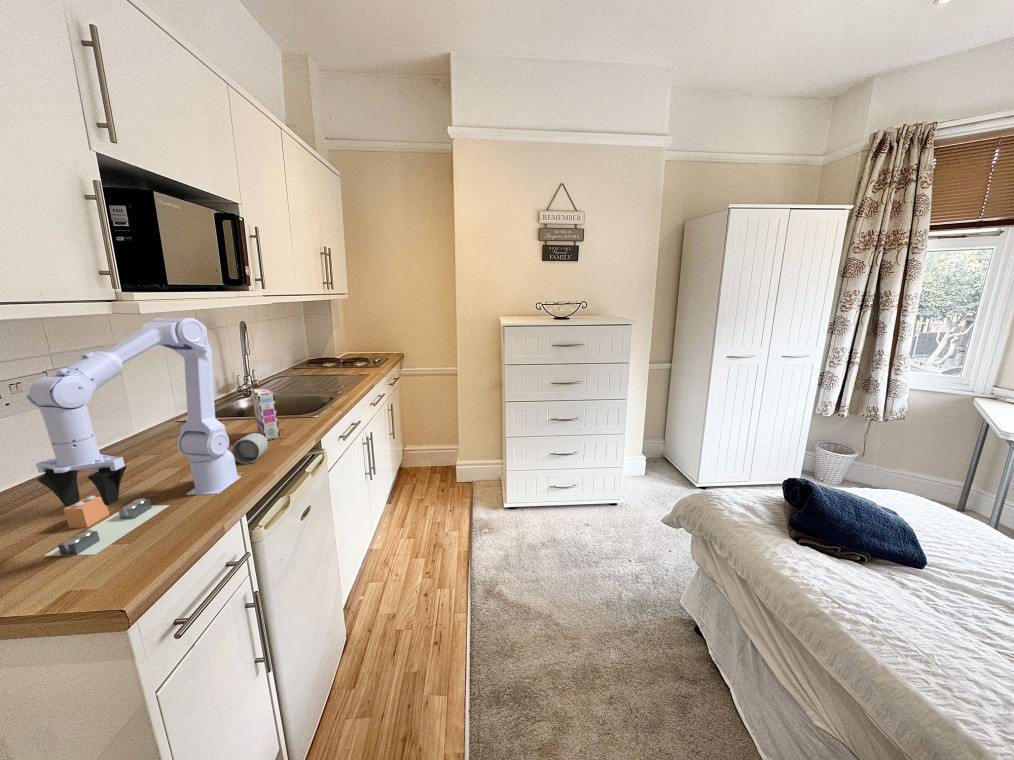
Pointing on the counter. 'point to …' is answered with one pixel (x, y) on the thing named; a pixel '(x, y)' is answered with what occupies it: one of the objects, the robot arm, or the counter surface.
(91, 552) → the mat
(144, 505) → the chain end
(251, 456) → the ceramic mug
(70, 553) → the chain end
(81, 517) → the orange block with knobs
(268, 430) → the candy bar box
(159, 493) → the counter surface
